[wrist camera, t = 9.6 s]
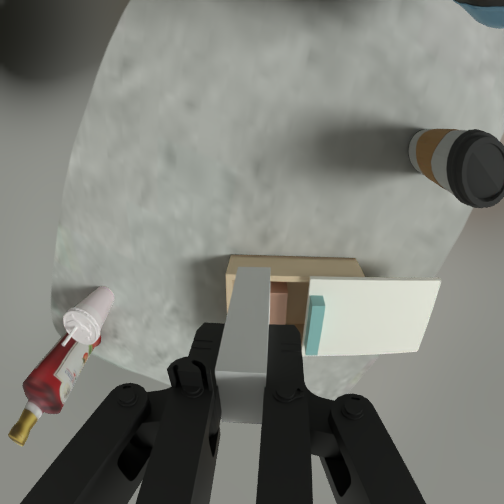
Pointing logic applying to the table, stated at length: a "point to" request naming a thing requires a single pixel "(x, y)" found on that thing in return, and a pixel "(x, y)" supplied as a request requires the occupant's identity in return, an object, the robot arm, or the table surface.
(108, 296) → the smoothie
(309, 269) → the box
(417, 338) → the lid
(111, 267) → the table surface
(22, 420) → the liquor
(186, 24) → the table surface
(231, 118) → the table surface
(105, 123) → the table surface
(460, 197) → the coffee cup
